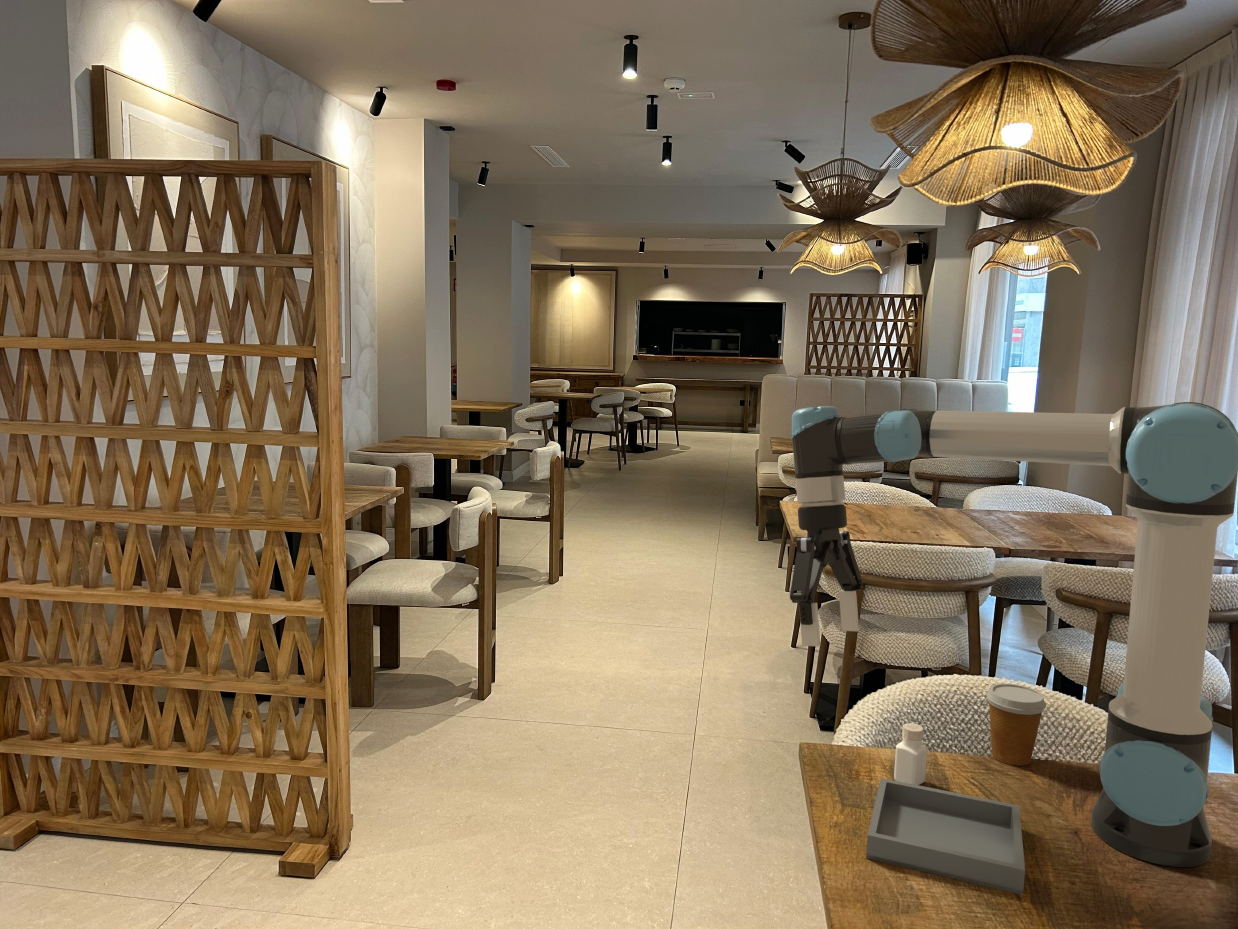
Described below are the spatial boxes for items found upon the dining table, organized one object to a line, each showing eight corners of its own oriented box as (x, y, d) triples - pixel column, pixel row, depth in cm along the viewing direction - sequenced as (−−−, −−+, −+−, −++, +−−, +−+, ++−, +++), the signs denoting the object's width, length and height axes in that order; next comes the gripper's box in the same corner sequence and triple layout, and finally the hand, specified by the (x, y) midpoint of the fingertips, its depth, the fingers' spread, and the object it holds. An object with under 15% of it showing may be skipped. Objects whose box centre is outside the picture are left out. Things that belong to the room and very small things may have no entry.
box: (1017, 827, 130) (1018, 805, 129) (1022, 895, 113) (1025, 870, 113) (879, 798, 137) (880, 778, 137) (866, 858, 121) (867, 835, 120)
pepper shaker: (892, 781, 143) (895, 726, 142) (904, 773, 146) (908, 719, 145) (914, 790, 140) (918, 734, 139) (926, 782, 143) (930, 727, 142)
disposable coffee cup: (1047, 773, 147) (1053, 706, 146) (988, 766, 149) (993, 700, 147) (1032, 748, 156) (1038, 685, 155) (977, 742, 158) (982, 680, 157)
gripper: (834, 501, 149) (844, 624, 149) (760, 509, 130) (770, 650, 129) (876, 499, 144) (886, 626, 144) (804, 507, 125) (816, 654, 125)
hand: (831, 638), depth 137 cm, fingers open, 13 cm apart
